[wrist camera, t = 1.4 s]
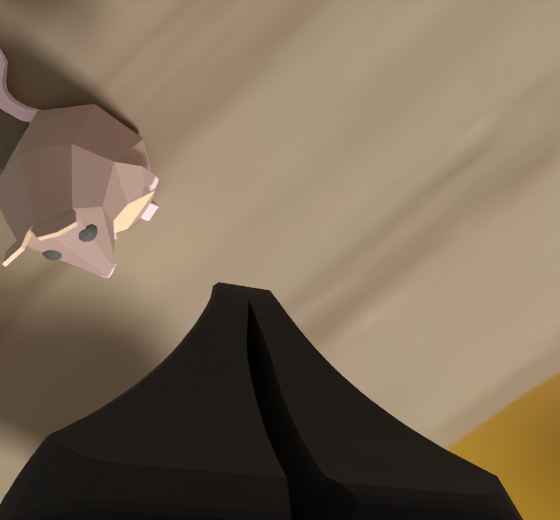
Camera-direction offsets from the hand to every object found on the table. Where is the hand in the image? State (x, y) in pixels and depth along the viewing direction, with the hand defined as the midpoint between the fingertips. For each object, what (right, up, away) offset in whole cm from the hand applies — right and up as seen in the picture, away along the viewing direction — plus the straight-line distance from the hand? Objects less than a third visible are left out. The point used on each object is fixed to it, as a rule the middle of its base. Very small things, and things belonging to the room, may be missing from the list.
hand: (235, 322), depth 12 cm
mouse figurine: (-7, +6, +7) cm, 11 cm away
